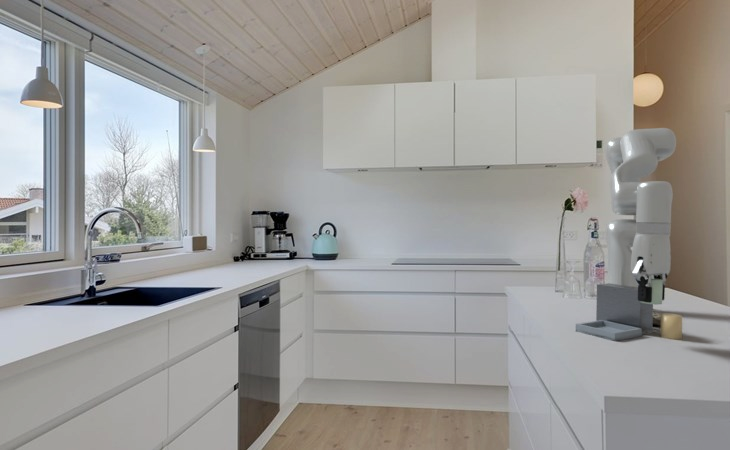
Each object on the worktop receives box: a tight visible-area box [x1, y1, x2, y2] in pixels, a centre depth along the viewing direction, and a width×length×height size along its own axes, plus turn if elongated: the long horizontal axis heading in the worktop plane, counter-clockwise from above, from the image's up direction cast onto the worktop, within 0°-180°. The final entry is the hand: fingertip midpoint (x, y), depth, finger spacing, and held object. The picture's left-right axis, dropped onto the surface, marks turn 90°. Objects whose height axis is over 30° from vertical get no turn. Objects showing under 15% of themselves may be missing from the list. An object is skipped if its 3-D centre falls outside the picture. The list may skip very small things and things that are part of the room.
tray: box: [575, 320, 642, 342], centre depth 126 cm, size 12×12×2 cm
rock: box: [653, 309, 662, 327], centre depth 139 cm, size 11×11×4 cm
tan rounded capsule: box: [659, 312, 683, 341], centre depth 123 cm, size 5×5×6 cm
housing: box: [595, 282, 657, 335], centre depth 133 cm, size 8×14×12 cm, turn 28°
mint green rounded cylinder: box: [640, 277, 663, 306], centre depth 118 cm, size 5×5×6 cm
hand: (651, 299), depth 118 cm, fingers closed on mint green rounded cylinder, 4 cm apart
